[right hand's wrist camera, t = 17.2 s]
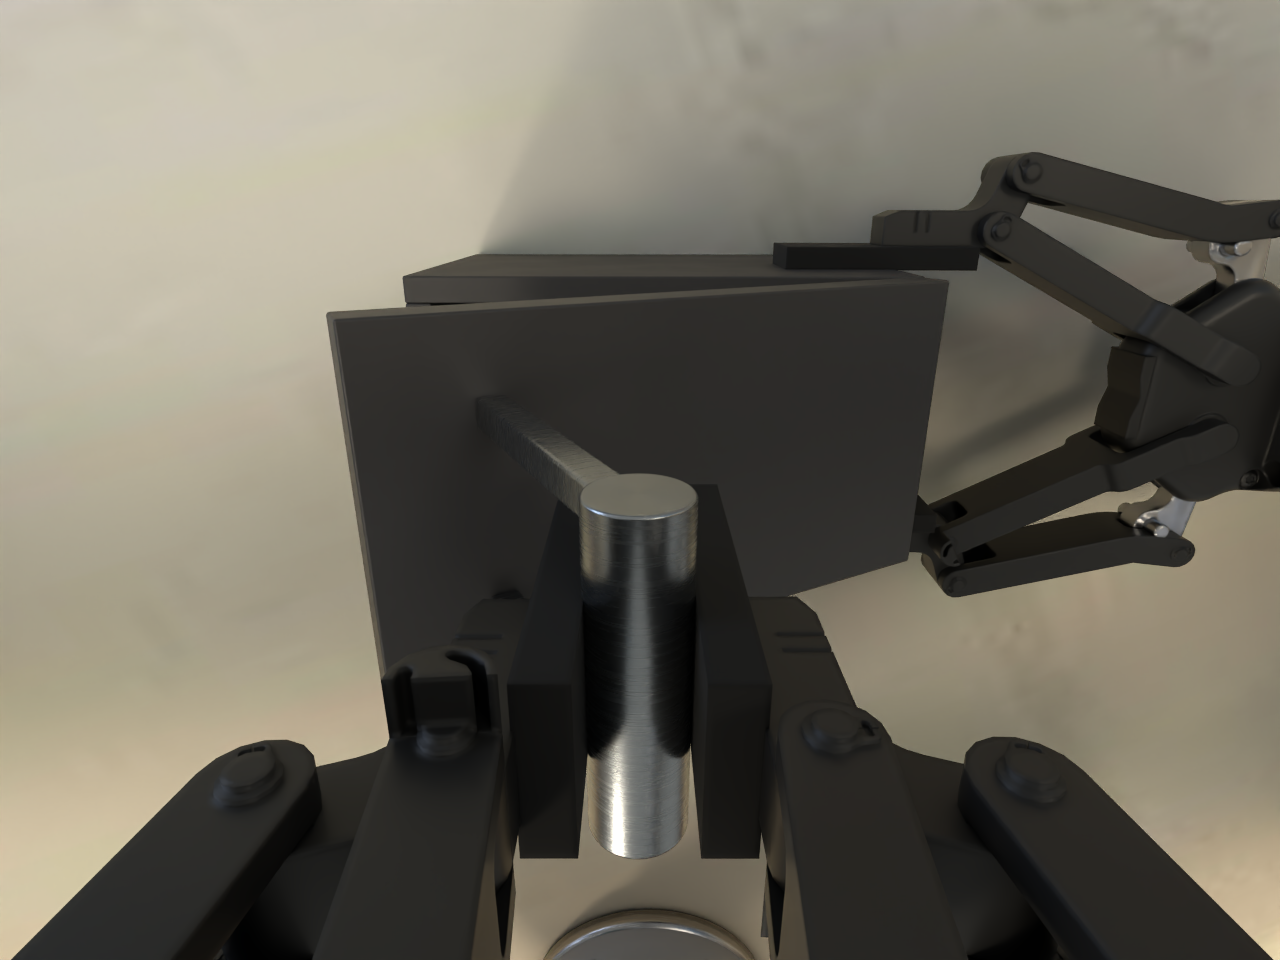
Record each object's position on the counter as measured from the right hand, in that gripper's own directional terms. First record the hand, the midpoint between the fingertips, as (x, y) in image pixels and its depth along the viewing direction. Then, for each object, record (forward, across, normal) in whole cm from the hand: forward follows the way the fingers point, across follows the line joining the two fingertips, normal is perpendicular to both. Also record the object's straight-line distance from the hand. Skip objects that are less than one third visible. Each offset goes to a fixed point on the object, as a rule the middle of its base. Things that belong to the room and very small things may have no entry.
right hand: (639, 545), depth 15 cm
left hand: (+13, -5, 0) cm, 14 cm away
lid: (+5, -1, 0) cm, 5 cm away
